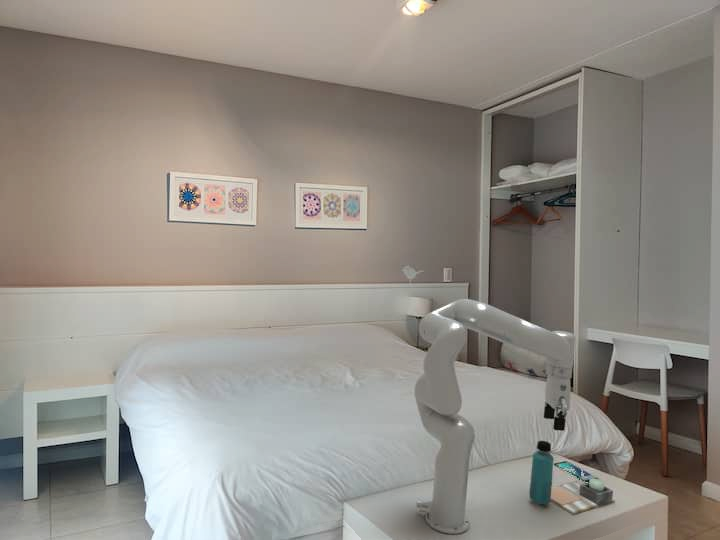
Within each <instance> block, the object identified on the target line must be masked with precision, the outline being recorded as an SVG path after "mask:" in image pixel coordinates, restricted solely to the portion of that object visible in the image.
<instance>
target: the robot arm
mask: <svg viewBox="0 0 720 540" xmlns="http://www.w3.org/2000/svg"><path fill="white" fill-rule="evenodd" d="M466 329H469V330H471V331H474V332H476V333H479V334H481V335H484V336H486V337H489V338H491V339H494V340H496V341H499V342H501V343H504V344H506V345H507V346H508V345H510V346H512V347H514V348H519V349H523V350H527V351H528V352H530V353H531V354H534V355H537V356H540V357H543V358H546V359H547V361H546V369H545V375H546V376H547V378H546V385H545V389H544V390H545V391H544V392H545V394H544V398H545V399H544V400H545V402H544V408H543V419H545V420H546V419H547V420H553V430H554V431H563V432H564V431H565V429H566V428H565V427H566V419H567V415H568V413H567V412H568V411H569V410H570V406H571V403H570V402H571V379H572V377H573V375H572V374H573V366H574V365H573V364H574V356H575V347H576V346H575V345H576V336H575V334H574V333H573V332H568V331H564V330H553V331H552V330H548V329H546V328H544V327H541V326H539V325H536V324H533V323H531V322H529V321H527V320H525V319H522V318H520V317H518V316H515V315H513V314H510V313H508V312H506V311H503V310H501V309H500V308H496V307H494V306H492V305H490V304H488V303H485V302H482V301H479V300H473V299H470V298H460V299H457V300H455V301H452V302H450V303H447V304H446V305H443V306H442V307H439V308H437V309H435V310H433V311H431V312H429V313H427V314H425V315H424V316H423V317H422V318H421V320H420V322H419V325H418V333H419V335H420V337H421V338H422V339H423V340H424V341H425V342H427V343H429V344H431V346H430V347H429V349H428V350H427V352H426V354H425V357H424V360H423V365H422V366H423V374H421V375H420V376H419V378H418V379H417V380H416V383H415V385H414V397H415V398H414V399H415V403H416V406H417V409H418V412H419V413H418V414H419V416H420V420H421V423H422V426H423V428H424V429H425V431H426V432H427V434H429V435H430V436H431V437H433V438H434V439H435V440H437V441H438V442H439V443H440V448H439V450H438V452H437V455H436V456H435V463H434V475H433V489H432V499H431V501H429V500H428V502H427V501H423V500H419V499H417V500H416V508H419V512H420V513H421V512H422V513H425V521H426V523H427V524H428V526H429V527H431V529H434V530H435V531H438V532H441V533H445V534H450V535H458V534H462V533H464V532H466V531H467V530H469V528H470V523H471V521H470V518H469V516H468V515H467V514H466V505H467V492H468V480H469V468H470V460H471V453H472V450H473V446H474V442H475V439H476V433H475V429H474V426H473V425H472V423H471V422H470V421H469V420H468V419H466V418H465V417H463V415H460V414H459V412H460V411H461V408H462V405H463V403H462V402H463V400H462V399H463V398H462V393H461V390H460V386H459V382H458V378H457V374H456V369H455V363H456V359H457V356H458V354H459V353H460V352H461V349H462V348H464V345H465V344H466V341H467V336H468V334H467V330H466Z"/></svg>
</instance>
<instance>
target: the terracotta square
mask: <svg viewBox="0 0 720 540" xmlns="http://www.w3.org/2000/svg"><path fill="white" fill-rule="evenodd" d="M558 486H559V485H557V486H553V487H551V497H550V499H551V500H552V501H554V502H556V503H557V504H559V505H561V506H563V505H566V504H569V503H572V502H576V501H579V500H581V499H580V498H578V497H576V496H574V495H573V494H571V493H569V492H567V491H566V490H564V489H562V488H560V487H558Z"/></svg>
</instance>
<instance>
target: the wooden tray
mask: <svg viewBox="0 0 720 540" xmlns="http://www.w3.org/2000/svg"><path fill="white" fill-rule="evenodd" d="M557 486H558V487H560V488H562V489H564V490H566V491H567V492H569V493H571V494H573V495H574V496H576V497H578V498H580V499H581V500H579V501H576V502H572V503H569V504H566V505H563V506H561V505H559V504H557V503H556V502H554V501H552V500H551V501H550V502H551V503H553V504H554V505H556V506H558V507H559V508H561V509H562V510H564V511H566V512H568V513H569V514H571V515H572V516H576V515H579V514H582V513H585V512H588V511H591V510H594V509H597V508H600V507H604V506H606V505H610V504H613V503H615V501H616V500H615V499H614V498H613V495H614V490H613V489H611V488H609V487H607V486H605V485H604V491H603V492H600V493H597V492H596V491H594V490H592V489H590V488H589V482H588V483H585V482H583V481H581V480H576V481H571V482H568V483H564V484H561V485H557Z"/></svg>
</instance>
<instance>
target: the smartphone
mask: <svg viewBox="0 0 720 540" xmlns="http://www.w3.org/2000/svg"><path fill="white" fill-rule="evenodd" d="M553 466H554V467H556V466H557V467H556V468H558V467H560V468H562V469H564V468H567V469H571V467H572V469H575V470H574V471H573V472H575V471H576V472H575V474H574V473H573V472H572V471H571V472H569V470H568V471H567V470H566V471H567V472H569V473H571V474H572V475H574V476H576V477H577V478H576V477H575V478H576V479H578V478H579V479H581V480H582V481H581V480H580V481H581V482H583V481H585V482H590V479H592V478H594V479H599V478H598V477H597V476H595V475H592V474H591V473H589V472H588V471H586V470H584V469H582V468H580V467H578V466H576V465H574V464H573V463H571V462H569V461H566V460H565V461H560V462H555V463H554V462H553ZM560 468H559V469H560ZM562 469H561V470H562ZM581 469H582V470H583V473H585V474H584V477H585V476H586V477H587V478H584V477H582V476H581V472H582V471H581ZM567 472H566V473H567ZM569 473H568V474H569ZM571 474H570V475H571ZM572 475H571V476H572ZM574 476H573V477H574ZM579 479H578V480H579ZM585 482H584V483H585Z"/></svg>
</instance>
